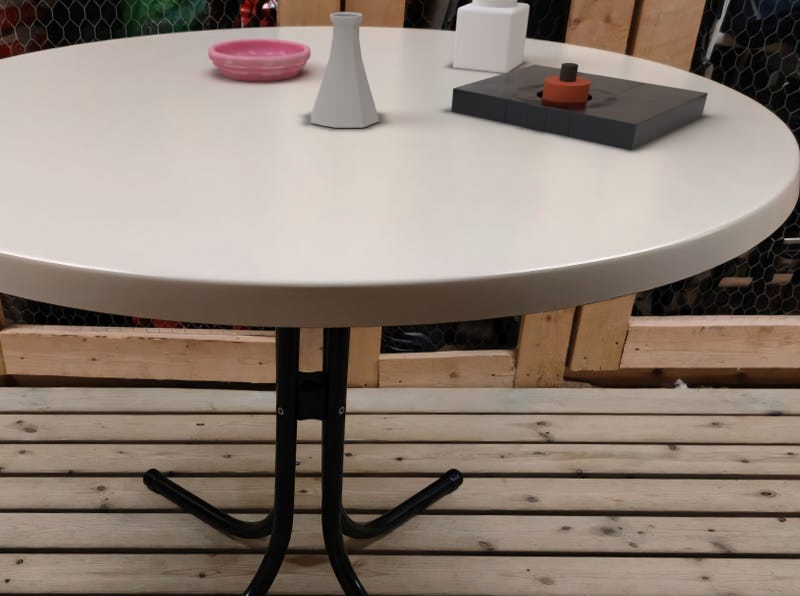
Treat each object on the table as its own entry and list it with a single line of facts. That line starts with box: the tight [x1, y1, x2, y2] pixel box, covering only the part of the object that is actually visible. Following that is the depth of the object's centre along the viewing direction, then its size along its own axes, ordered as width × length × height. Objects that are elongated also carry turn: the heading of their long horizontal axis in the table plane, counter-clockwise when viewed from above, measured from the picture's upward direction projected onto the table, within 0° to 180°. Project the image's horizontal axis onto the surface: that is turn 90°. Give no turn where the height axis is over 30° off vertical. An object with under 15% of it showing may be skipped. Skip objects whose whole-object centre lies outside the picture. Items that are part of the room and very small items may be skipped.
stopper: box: [542, 62, 590, 103], centre depth 83 cm, size 4×4×6 cm
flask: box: [310, 11, 380, 129], centre depth 82 cm, size 7×7×10 cm
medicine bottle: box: [452, 0, 530, 74], centre depth 103 cm, size 7×7×12 cm
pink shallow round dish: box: [207, 38, 311, 82], centre depth 102 cm, size 12×12×3 cm
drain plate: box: [450, 64, 708, 151], centre depth 86 cm, size 20×16×2 cm
